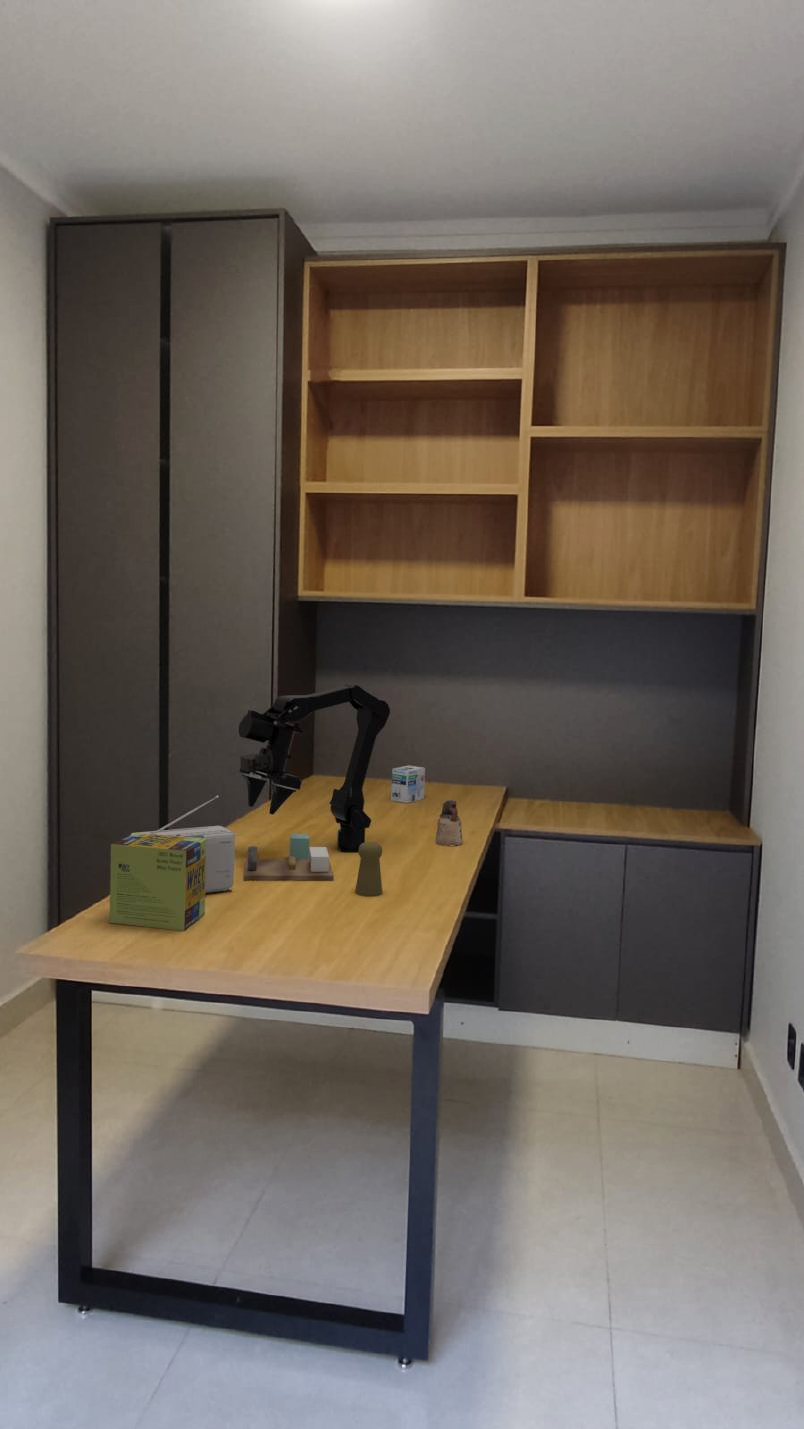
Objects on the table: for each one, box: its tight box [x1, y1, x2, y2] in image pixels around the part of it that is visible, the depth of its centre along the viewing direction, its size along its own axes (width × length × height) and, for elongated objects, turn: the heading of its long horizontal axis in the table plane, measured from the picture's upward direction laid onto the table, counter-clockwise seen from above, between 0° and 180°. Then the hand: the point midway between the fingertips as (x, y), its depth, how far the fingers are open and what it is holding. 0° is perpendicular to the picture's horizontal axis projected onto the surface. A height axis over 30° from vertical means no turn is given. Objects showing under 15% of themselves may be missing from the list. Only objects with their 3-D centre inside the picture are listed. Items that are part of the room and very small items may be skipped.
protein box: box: [109, 832, 206, 932], centre depth 182 cm, size 10×15×16 cm
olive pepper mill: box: [354, 841, 383, 898], centre depth 206 cm, size 6×6×11 cm
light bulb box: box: [390, 764, 426, 804], centre depth 312 cm, size 11×7×11 cm, turn 147°
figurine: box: [435, 799, 463, 846], centre depth 254 cm, size 7×7×12 cm
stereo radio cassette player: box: [130, 795, 236, 894], centre depth 199 cm, size 21×8×20 cm, turn 122°
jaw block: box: [289, 833, 310, 859], centre depth 231 cm, size 4×4×6 cm
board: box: [243, 846, 335, 882], centre depth 219 cm, size 20×14×5 cm
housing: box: [309, 846, 330, 872], centre depth 220 cm, size 4×9×4 cm, turn 9°
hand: (260, 810), depth 226 cm, fingers open, 9 cm apart
